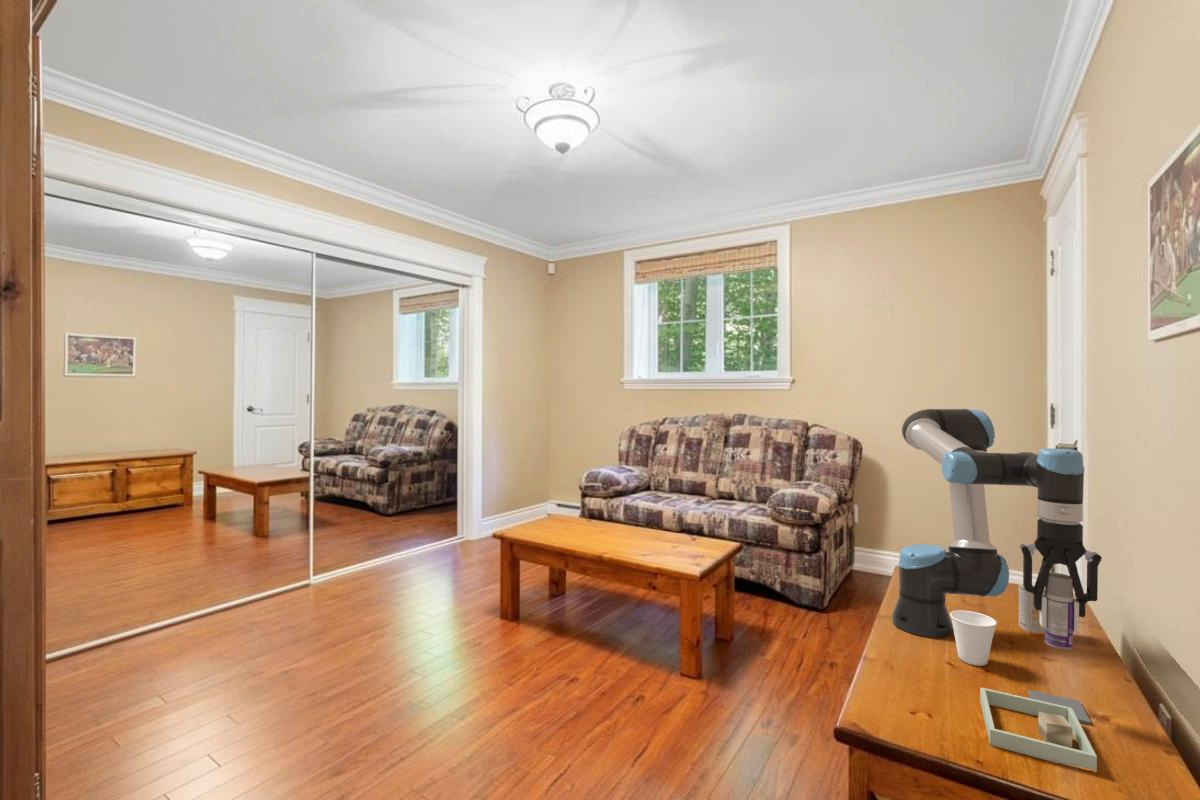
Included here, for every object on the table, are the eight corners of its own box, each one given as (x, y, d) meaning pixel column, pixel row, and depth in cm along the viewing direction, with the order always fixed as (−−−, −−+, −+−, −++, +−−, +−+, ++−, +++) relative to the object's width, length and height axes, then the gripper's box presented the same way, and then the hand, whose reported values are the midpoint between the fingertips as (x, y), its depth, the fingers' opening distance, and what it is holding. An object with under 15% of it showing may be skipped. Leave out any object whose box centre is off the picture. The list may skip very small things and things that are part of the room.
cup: (988, 654, 141) (988, 613, 141) (1003, 673, 132) (1003, 628, 132) (944, 649, 144) (945, 608, 144) (955, 666, 135) (956, 622, 135)
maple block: (1046, 743, 105) (1046, 722, 105) (1038, 731, 109) (1038, 711, 109) (1071, 748, 104) (1072, 727, 104) (1062, 735, 108) (1062, 715, 108)
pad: (1035, 712, 116) (1035, 709, 116) (1027, 692, 123) (1027, 689, 123) (1091, 725, 111) (1091, 722, 111) (1079, 703, 119) (1079, 700, 119)
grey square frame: (990, 745, 105) (990, 729, 105) (980, 700, 120) (980, 687, 120) (1096, 773, 97) (1096, 756, 97) (1071, 722, 112) (1071, 707, 112)
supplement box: (1047, 629, 157) (1048, 584, 157) (1060, 636, 152) (1060, 590, 152) (1017, 627, 158) (1017, 583, 158) (1028, 635, 153) (1029, 589, 153)
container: (1058, 639, 120) (1059, 572, 119) (1078, 649, 115) (1079, 579, 115) (1038, 640, 119) (1039, 572, 119) (1058, 650, 115) (1059, 579, 114)
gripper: (1011, 519, 118) (1010, 625, 118) (1120, 529, 109) (1119, 644, 109) (1006, 512, 125) (1005, 613, 125) (1108, 522, 116) (1107, 630, 116)
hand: (1058, 627), depth 117 cm, fingers closed on container, 5 cm apart
